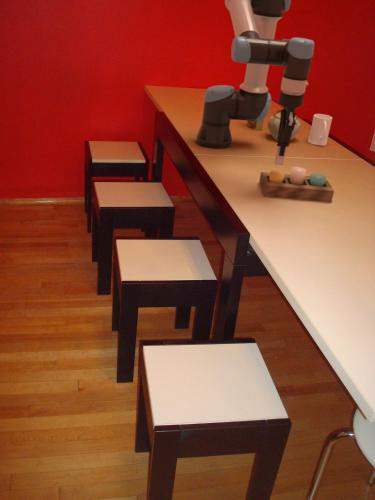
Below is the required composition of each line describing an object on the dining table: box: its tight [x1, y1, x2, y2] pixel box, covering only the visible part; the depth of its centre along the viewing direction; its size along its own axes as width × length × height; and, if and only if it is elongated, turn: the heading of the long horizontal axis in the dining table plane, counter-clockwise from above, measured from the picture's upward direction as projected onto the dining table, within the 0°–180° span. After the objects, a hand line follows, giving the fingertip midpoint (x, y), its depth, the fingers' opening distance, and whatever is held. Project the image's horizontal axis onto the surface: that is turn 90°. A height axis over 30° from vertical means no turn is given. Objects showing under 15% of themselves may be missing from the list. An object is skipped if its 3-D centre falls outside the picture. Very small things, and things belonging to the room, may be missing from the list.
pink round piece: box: [289, 166, 307, 185], centre depth 168 cm, size 5×5×5 cm
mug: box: [307, 113, 333, 147], centre depth 222 cm, size 12×8×12 cm
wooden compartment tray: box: [258, 171, 335, 203], centre depth 170 cm, size 23×12×4 cm, turn 90°
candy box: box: [246, 118, 265, 131], centre depth 236 cm, size 9×4×15 cm, turn 23°
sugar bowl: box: [267, 109, 302, 142], centre depth 223 cm, size 20×15×15 cm
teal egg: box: [309, 173, 327, 187], centre depth 169 cm, size 5×5×5 cm
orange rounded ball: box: [269, 169, 285, 183], centre depth 169 cm, size 5×5×5 cm
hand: (278, 164), depth 167 cm, fingers closed
